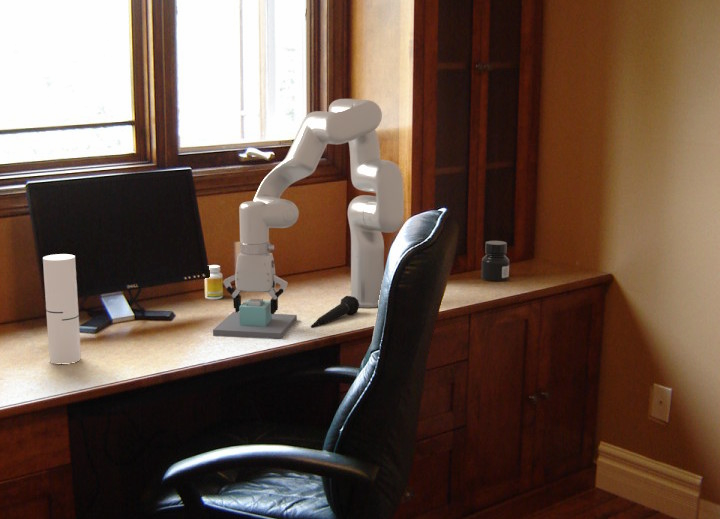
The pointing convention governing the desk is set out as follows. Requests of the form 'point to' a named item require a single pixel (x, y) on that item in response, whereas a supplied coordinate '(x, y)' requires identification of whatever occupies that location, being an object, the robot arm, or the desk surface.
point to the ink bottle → (495, 262)
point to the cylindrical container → (62, 308)
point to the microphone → (339, 311)
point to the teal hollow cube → (255, 314)
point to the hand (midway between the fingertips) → (255, 311)
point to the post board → (271, 330)
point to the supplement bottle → (214, 283)
